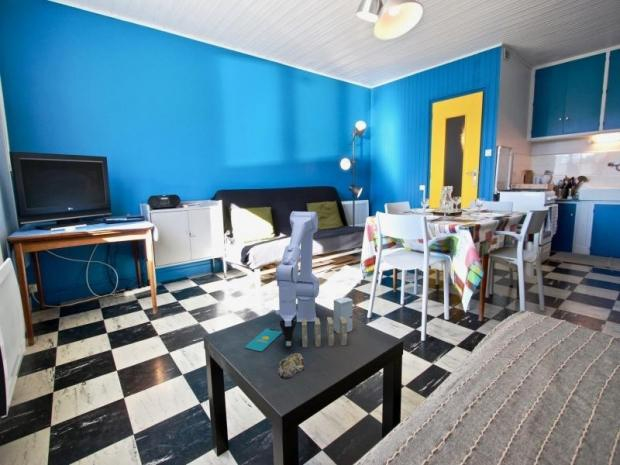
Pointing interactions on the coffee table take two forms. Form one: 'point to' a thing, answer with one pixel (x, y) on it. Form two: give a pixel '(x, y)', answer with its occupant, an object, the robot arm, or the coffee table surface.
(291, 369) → the mineral rock
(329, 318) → the domino
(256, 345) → the smartphone
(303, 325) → the domino
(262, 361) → the coffee table surface
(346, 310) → the skincare box
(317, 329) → the domino
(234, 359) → the coffee table surface
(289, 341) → the domino
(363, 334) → the coffee table surface
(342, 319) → the domino
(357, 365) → the coffee table surface
